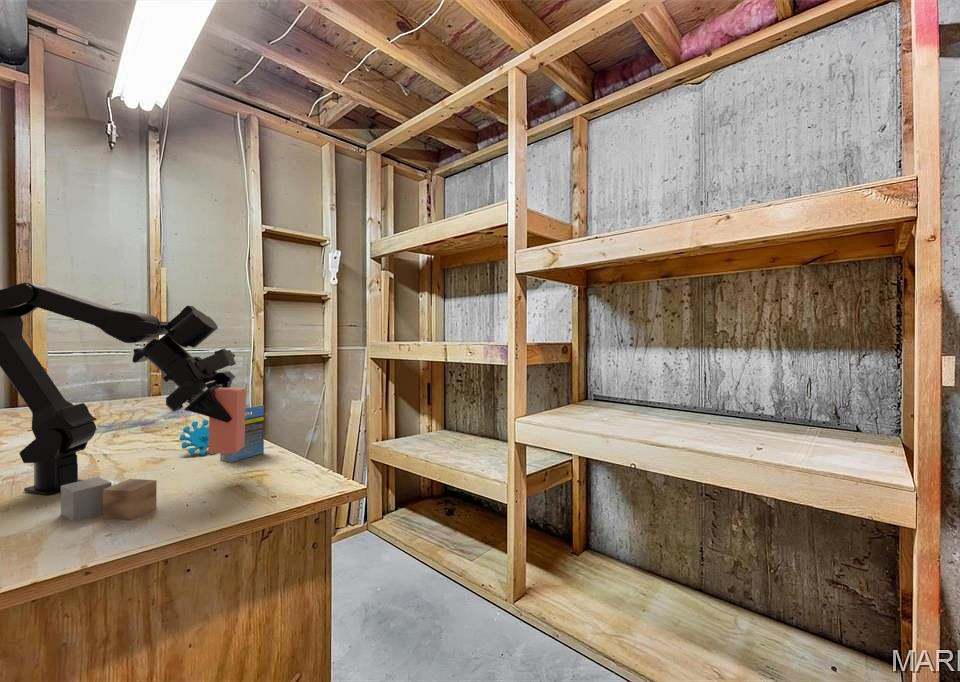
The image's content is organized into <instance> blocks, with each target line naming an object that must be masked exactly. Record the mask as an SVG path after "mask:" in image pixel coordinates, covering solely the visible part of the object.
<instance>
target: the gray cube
mask: <svg viewBox="0 0 960 682" xmlns="http://www.w3.org/2000/svg"><path fill="white" fill-rule="evenodd" d="M82 480H83V481H79V482H74V483H70V484H66V485H62V486H61V491H60V515H61V516H62V517H64V518H66V519H68V520H70V521H71V522H73V523H74V522H75V523H76V522H77V521H80V520H81V521H82V520H84V519H87V518H88V519H89V518H92V517H94V516H95V517H96V516H99V515H101V514H102V515H103V489H105V488H108V487H110V486H112V481H109V480H107V479H105V478H102V477H99V476H97V477H91V478H88V479H87V478H86V479H82Z"/></svg>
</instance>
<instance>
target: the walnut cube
mask: <svg viewBox="0 0 960 682" xmlns="http://www.w3.org/2000/svg"><path fill="white" fill-rule="evenodd" d="M157 489H158V488H157V480H155V479H142V478H141V479H140V478H138V479H137V478H127V479H126V480H124V481H120V482H118V483H115V484H113V485H111V486H110V487H108V488H105V489H103V513H102V519H103V520H115V521H116V520H117V521H134V520H135V519H138V518H140V517H142V516H143V515H146V514H148V513H149V512H151V511H153V510H154V509H155V510H156V509H157V491H158V490H157Z"/></svg>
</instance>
